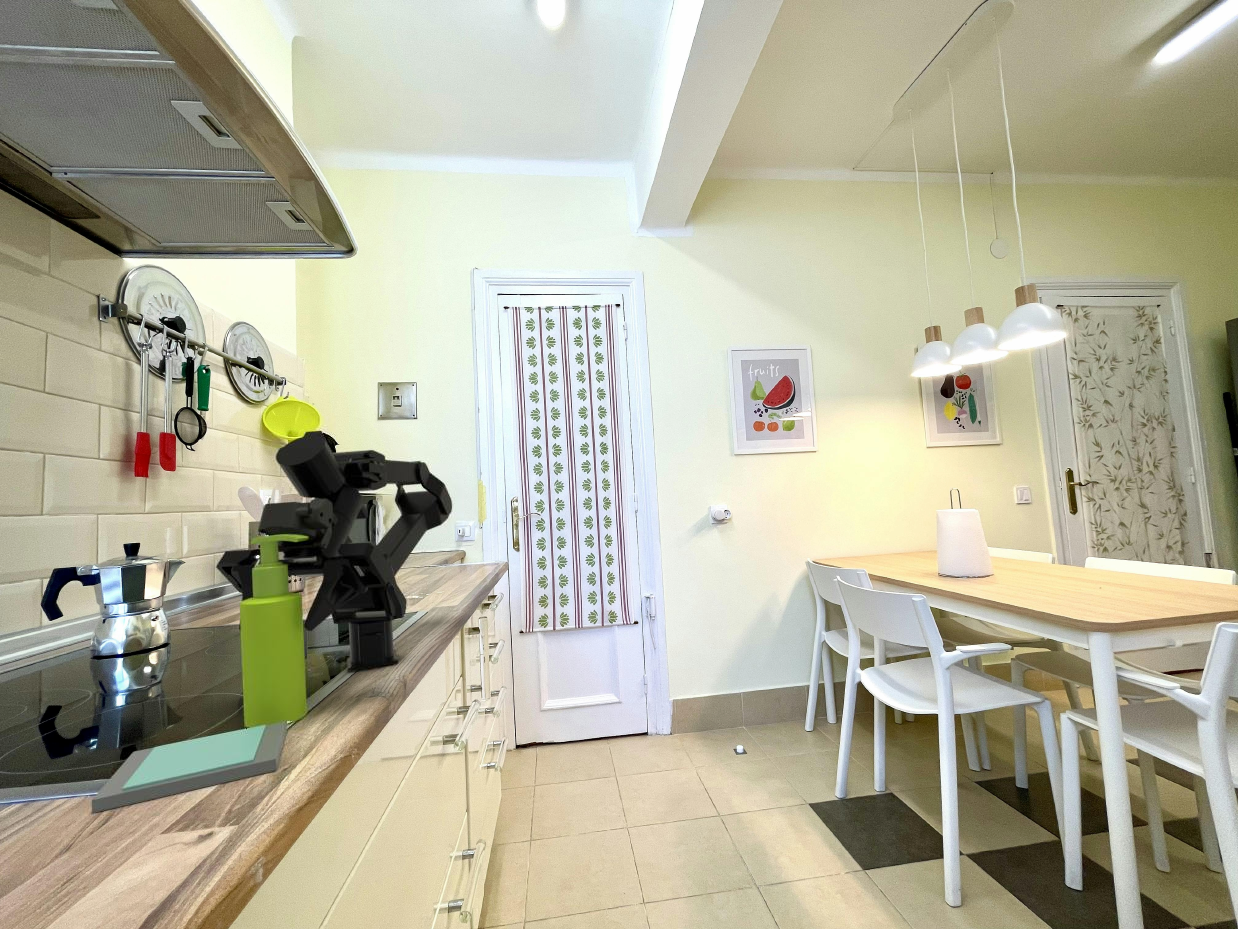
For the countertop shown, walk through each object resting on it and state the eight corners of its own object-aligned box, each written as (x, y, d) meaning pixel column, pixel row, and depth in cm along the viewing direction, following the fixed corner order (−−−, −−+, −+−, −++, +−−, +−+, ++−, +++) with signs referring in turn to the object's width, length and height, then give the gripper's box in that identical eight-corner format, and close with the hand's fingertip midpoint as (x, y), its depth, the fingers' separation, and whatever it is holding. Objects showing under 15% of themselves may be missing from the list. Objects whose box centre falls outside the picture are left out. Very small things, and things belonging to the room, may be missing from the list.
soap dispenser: (297, 727, 61) (288, 535, 61) (231, 731, 61) (224, 539, 62) (326, 706, 67) (318, 531, 67) (266, 710, 67) (259, 535, 67)
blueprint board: (133, 762, 55) (133, 749, 55) (286, 730, 60) (286, 719, 60) (91, 813, 46) (91, 797, 46) (276, 770, 51) (275, 756, 51)
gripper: (224, 483, 70) (147, 592, 59) (373, 472, 69) (323, 582, 58) (271, 542, 78) (210, 649, 66) (406, 534, 77) (368, 641, 65)
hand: (274, 630), depth 64 cm, fingers open, 7 cm apart
